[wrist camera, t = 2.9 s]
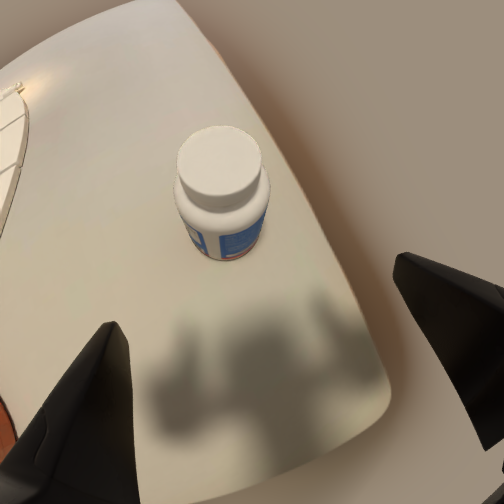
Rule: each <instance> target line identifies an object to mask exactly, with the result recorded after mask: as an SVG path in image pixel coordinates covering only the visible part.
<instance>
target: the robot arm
mask: <svg viewBox="0 0 504 504" xmlns="http://www.w3.org/2000/svg"><path fill="white" fill-rule="evenodd" d="M393 280H394V283H395V284H396V286H397V288H398V289H399V291H400V293H401V295H402V297H403V299H404V301H405V303H406V305H407V307H408V309H409V310H410V312H411V314H412V316H413V317H414V319H415V321H416V322H417V324H418V326H419V327H420V329H421V330H422V332H423V333H424V335H425V337H426V338H427V340H428V342H429V343H430V345H431V347H432V348H433V350H434V351H435V353H436V355H437V357H438V358H439V360H440V362H441V364H442V365H443V367H444V369H445V371H446V373H447V374H448V376H449V378H450V380H451V382H452V383H453V385H454V387H455V389H456V391H457V393H458V395H459V397H460V399H461V401H462V403H463V405H464V407H465V409H466V411H467V413H468V415H469V417H470V420H471V422H472V424H473V426H474V428H475V430H476V432H477V435H478V437H479V440H480V442H481V444H482V447H483V449H484V450H485V451H487V450H488V449H490V448H491V447H493V446H494V445H495V444H497V443H498V442H500V441H501V440H502V439H503V438H504V288H503V287H500V286H498V285H494V284H492V283H490V282H488V281H485V280H483V279H480V278H478V277H475V276H473V275H470V274H467V273H465V272H462V271H459V270H457V269H454V268H451V267H449V266H446V265H443V264H441V263H437V262H435V261H432V260H429V259H427V258H424V257H421V256H418V255H415V254H412V253H410V252H404V253H401V254H398V255H397V257H396V260H395V265H394V270H393ZM502 472H503V473H504V462H503V467H502ZM0 504H140V498H139V490H138V481H137V472H136V461H135V447H134V428H133V389H132V378H131V367H130V355H129V344H128V341H127V339H126V337H125V335H124V334H123V332H122V330H121V328H120V327H119V325H118V323H117V322H115V321H112V322H106V323H103V324H102V325H101V326H100V328H99V329H98V330H97V331H96V333H95V334H94V335H93V336H92V338H91V339H90V340H89V342H88V343H87V344H86V345H85V347H84V348H83V349H82V351H81V352H80V353H79V355H78V356H77V357H76V359H75V360H74V361H73V363H72V364H71V365H70V367H69V368H68V369H67V371H66V372H65V373H64V375H63V376H62V378H61V379H60V380H59V382H58V383H57V385H56V386H55V387H54V389H53V390H52V392H51V393H50V394H49V396H48V397H47V399H46V400H45V402H44V403H43V405H42V407H41V408H40V409H39V411H38V412H37V414H36V415H35V417H34V418H33V419H32V421H31V422H30V424H29V425H28V427H27V428H26V430H25V431H24V432H23V434H22V435H21V436H20V438H19V439H18V440H17V442H16V443H15V444H14V446H13V447H12V448H11V450H10V451H9V452H8V454H7V455H6V457H5V458H4V459H3V461H2V462H1V463H0ZM482 504H504V483H503V484H502V485H501V486H500V487H499V488H498V489H497V490H496V491H495V492H494V493H493V494H492V495H491V496H489V497H488V499H486V500H485V501H484V502H483V503H482Z"/></svg>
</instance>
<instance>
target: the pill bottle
mask: <svg viewBox="0 0 504 504" xmlns="http://www.w3.org/2000/svg"><path fill="white" fill-rule="evenodd" d="M177 171H178V173H177V175H176V178H175V181H174V187H173V193H174V200H175V203H176V206H177V209H178V211H179V214H180V216H181V218H182V220H183V222H184V224H185V226H186V229H187V231H188V233H189V235H190V237H191V239H192V241H193V243H194V244H195V246H196V247H197V248H198V249H199V250H200V251H201V252H202V253H204V254H205V255H207V256H209V257H211V258H214V259H218V260H232V259H236V258H238V257H241V256H243V255H244V254H246V253H247V252H248V251H249V250H250V249H251V248H252V247H253V246H254V244H255V243H256V241H257V239H258V237H259V234H260V231H261V227H262V224H263V220H264V216H265V213H266V209H267V206H268V202H269V197H270V180H269V176H268V173H267V171H266V169H265V167H264V166H263V164H262V155H261V151H260V148H259V146H258V144H257V143H256V141H255V140H254V139H253V138H252V137H251V136H250V135H249V134H247V133H246V132H244V131H243V130H240V129H238V128H235V127H231V126H211V127H207V128H204V129H202V130H199V131H197V132H195V133H194V134H192V135H191V136H190V137H189V138H188V139H187V140H186V141H185V142H184V143H183V145H182V146H181V148H180V150H179V152H178V156H177Z"/></svg>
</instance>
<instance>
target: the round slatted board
mask: <svg viewBox="0 0 504 504" xmlns="http://www.w3.org/2000/svg"><path fill="white" fill-rule="evenodd" d="M21 87H23V84H22V82H20V83H19V84H17V83H16V84H15V85H13V86H12V87H10V88H9V89H0V235H1V232H2V229H3V226H4V224H5V221H6V218H7V215H8V211H9V208H10V205H11V202H12V199H13V196H14V192H15V189H16V185H17V182H18V178H19V175H20V171H21V169H19V167H21V166H22V163H23V159H24V154H25V150H26V144H27V138H28V128H29V120H28V118H29V117H28V110H27V106H26V104H25V102H24V100H23V99H22V97H21V96H20V95H19V93H18V92H16V91H17V90H18V89H20V88H21Z"/></svg>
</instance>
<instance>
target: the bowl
mask: <svg viewBox="0 0 504 504" xmlns="http://www.w3.org/2000/svg"><path fill="white" fill-rule="evenodd" d="M15 443H16V441H15V436H14V432H13V429H12V425H11V423H10V420H9V418H8V415H7V413H6V411H5V409H4V407H3V405H2V403H1V401H0V463H1V462H2V461H3V459H4V458H5V457H6V455H7V454H8V452H9V451H10V450H11V448H12V447H13V446H14V444H15Z"/></svg>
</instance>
